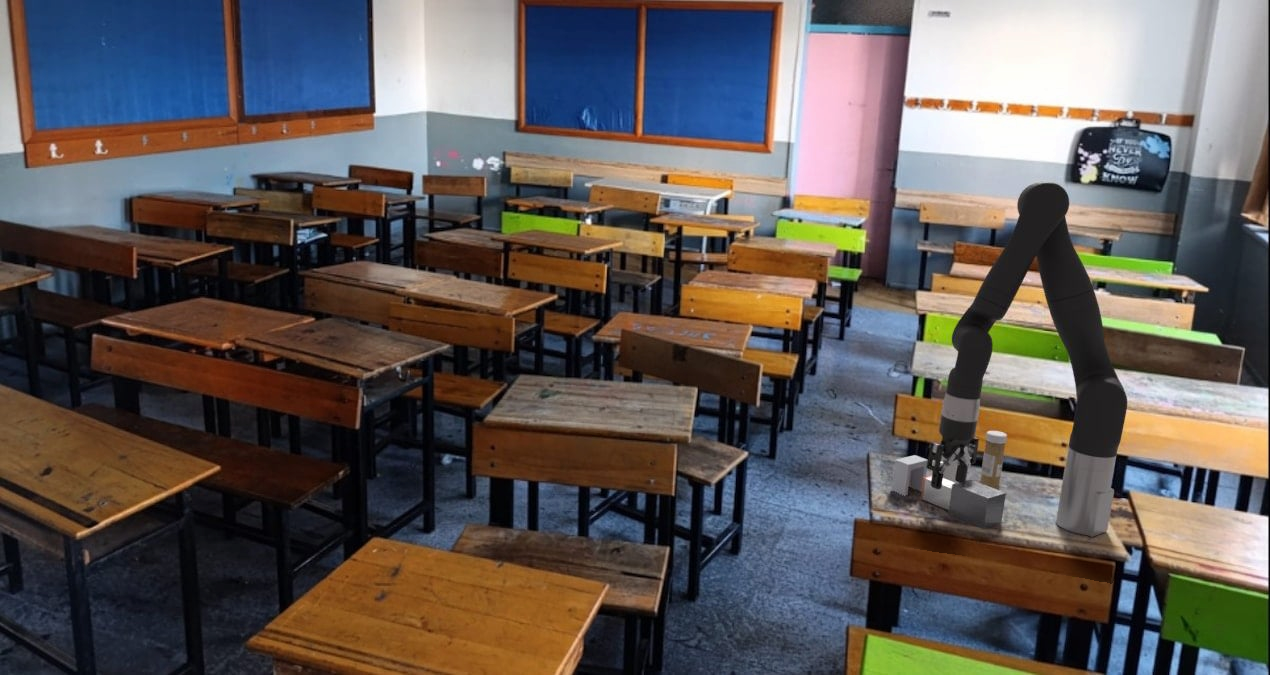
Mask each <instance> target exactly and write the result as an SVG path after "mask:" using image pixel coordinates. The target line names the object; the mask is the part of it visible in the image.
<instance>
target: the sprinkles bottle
mask: <svg viewBox="0 0 1270 675" xmlns="http://www.w3.org/2000/svg"><path fill="white" fill-rule="evenodd" d="M1007 439H1008V434H1006V432H1002V431H1000V430H999V431H998V430H988V431H987V432H986V434H985V445H984V452H983V457H982V464H981V465H982V466H981V474H980V475H981V476H980V482H979V483H981V484H983V485H986V486H989V487H991V488H994V489H997V490H999V489H1000V483H1001V477H1002V470H1003V462H1004V454H1005V453H1004V452H1005V447H1006V446H1005V445H1006V443H1007V441H1008V440H1007Z"/></svg>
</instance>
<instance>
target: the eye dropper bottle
mask: <svg viewBox="0 0 1270 675" xmlns="http://www.w3.org/2000/svg"><path fill="white" fill-rule="evenodd" d="M942 458H943V459H944V457H943V455H942ZM945 460H946V459H945ZM934 462H935V460H933V462H932V464H934ZM957 465H958V461H957V460H955V461H952V463H951V465H950V466H947V467H946V469H945V471H944V472H943V478H944V479H947V480H950V481H952V482H955V483H956V480H955V477H956V471H957ZM941 466H942V463H940V467H941ZM932 473H933V471H932V470H930V475H929V476H931V475H932Z"/></svg>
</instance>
